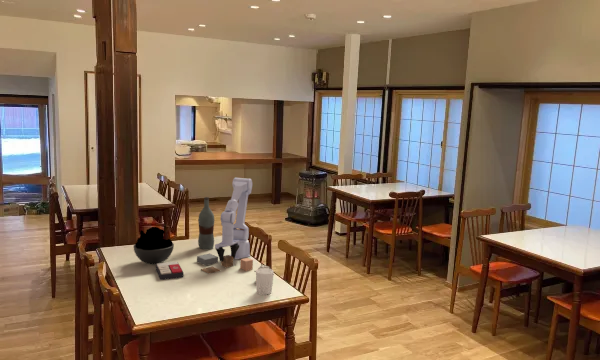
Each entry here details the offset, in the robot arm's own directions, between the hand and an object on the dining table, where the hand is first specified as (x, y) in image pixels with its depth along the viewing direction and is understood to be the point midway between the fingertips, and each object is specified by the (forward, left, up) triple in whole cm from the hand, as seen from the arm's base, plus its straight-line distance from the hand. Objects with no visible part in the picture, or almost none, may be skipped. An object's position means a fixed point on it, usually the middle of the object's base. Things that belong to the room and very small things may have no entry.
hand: (227, 259), depth 247 cm
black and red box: (+29, -7, -4) cm, 30 cm away
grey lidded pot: (-1, +29, -4) cm, 29 cm away
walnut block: (0, 0, -3) cm, 3 cm away
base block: (+5, -11, -4) cm, 13 cm away
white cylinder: (+8, +40, -4) cm, 41 cm away
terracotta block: (-5, +10, -4) cm, 12 cm away
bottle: (-9, -34, -4) cm, 35 cm away
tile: (+11, +1, -3) cm, 11 cm away
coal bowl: (+28, -26, -4) cm, 38 cm away
